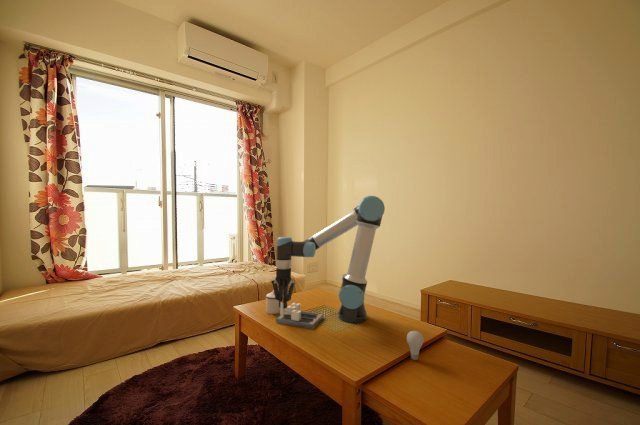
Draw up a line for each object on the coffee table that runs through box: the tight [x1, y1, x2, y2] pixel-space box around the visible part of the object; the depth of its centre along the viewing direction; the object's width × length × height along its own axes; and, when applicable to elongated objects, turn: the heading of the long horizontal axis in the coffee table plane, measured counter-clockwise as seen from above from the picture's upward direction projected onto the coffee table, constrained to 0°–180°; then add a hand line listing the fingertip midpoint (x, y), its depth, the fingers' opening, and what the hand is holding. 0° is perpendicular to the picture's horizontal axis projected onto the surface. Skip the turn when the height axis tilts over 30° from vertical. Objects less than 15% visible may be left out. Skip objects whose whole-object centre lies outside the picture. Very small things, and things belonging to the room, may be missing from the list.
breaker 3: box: [291, 310, 302, 321], centre depth 138 cm, size 4×3×4 cm
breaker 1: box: [286, 305, 296, 315], centre depth 144 cm, size 4×3×4 cm
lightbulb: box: [406, 330, 425, 361], centre depth 106 cm, size 6×6×11 cm
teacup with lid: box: [265, 289, 280, 315], centre depth 155 cm, size 12×9×12 cm
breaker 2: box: [290, 302, 301, 311], centre depth 149 cm, size 4×3×4 cm
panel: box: [275, 310, 324, 330], centre depth 143 cm, size 20×15×3 cm
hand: (282, 314), depth 140 cm, fingers closed
